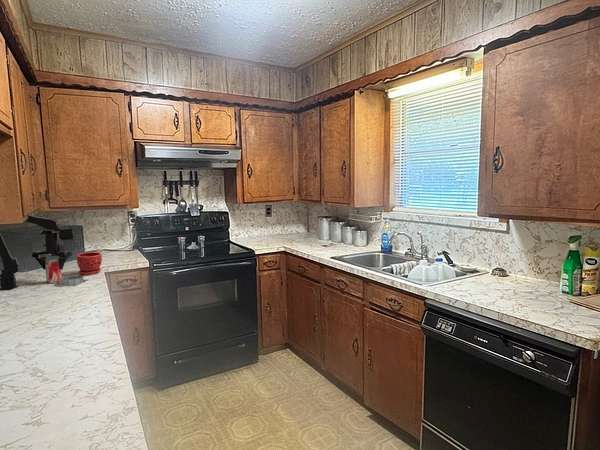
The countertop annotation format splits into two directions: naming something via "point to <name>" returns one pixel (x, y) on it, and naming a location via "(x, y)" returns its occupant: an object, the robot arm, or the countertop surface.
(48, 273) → the soda can
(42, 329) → the countertop surface
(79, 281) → the duct collar
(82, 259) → the plant pot
